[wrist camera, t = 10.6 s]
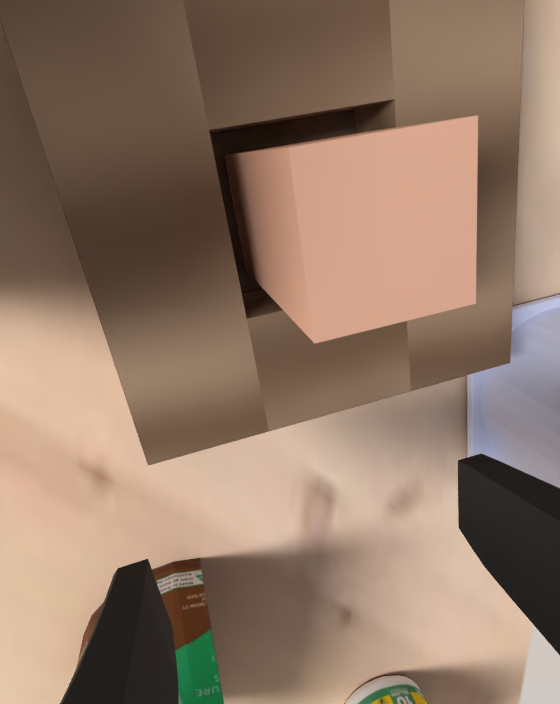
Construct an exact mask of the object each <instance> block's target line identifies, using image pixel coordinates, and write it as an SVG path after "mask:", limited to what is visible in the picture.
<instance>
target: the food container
mask: <svg viewBox="0 0 560 704" xmlns="http://www.w3.org/2000/svg"><path fill="white" fill-rule="evenodd" d="M152 572H153V574H154V577H155V580H156V583H157V585H158V588H159V591H160V594H161V596H162V599H163V602H164V604H165V607H166V610H167V613H168V615H169V618H170V621H171V624H172V627H173V635H174V644H175V652H176V662H177V671H178V693H179V704H224V701H223V695H222V689H221V683H220V677H219V671H218V665H217V659H216V653H215V647H214V641H213V635H212V629H211V623H210V617H209V611H208V605H207V599H206V593H205V587H204V581H203V575H202V569H201V563H200V558H197V559H190V560H183V561H176V562H172V563H169V564H166V565H164V566H161V567H158V568H155V569H153V570H152ZM103 604H104V602H103V603H102V604H101V606H100V607H99V608H98V609H97V610H96V611H95V612H94V614H93V615H92V616H91V619H90V621H89V623H88V626H87V628H86V631H85V633H84V636H83V641H82V645H81V650H80V655H79V659H78V664H79V662H80V659H81V657H82V655H83V653H84V650H85V648H86V646H87V643H88V641H89V639H90V636H91V634H92V631H93V629H94V626H95V624H96V621H97V619H98V617H99V614H100V611H101V609H102V606H103ZM78 664H77V666H78ZM76 669H77V668H76Z"/></svg>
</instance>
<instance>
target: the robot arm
mask: <svg viewBox="0 0 560 704" xmlns="http://www.w3.org/2000/svg"><path fill="white" fill-rule="evenodd" d="M458 510H459V529H460V530H461V532H462V533H463V535H464V537H465V538H466V540H467V541H468V543H469V544H470V546H471V547H472V549H473V550H474V552H475V553H476V555H477V556H478V558H479V559H480V561H481V562H482V564H483V565H484V566H485V568H486V569H487V570H488V571H489V573H490V574H491V575H492V576H493V577H494V579H495V580H496V581H497V582H498V583H499V585H500V586H501V587H502V588H503V589H504V590H505V592H506V593H507V594H508V595H509V596H510V598H511V599H512V600H513V601H514V602H515V603H516V605H517V606H518V607H519V608H520V609H521V610H522V612H523V613H524V614H525V615H526V616H527V617H528V619H529V620H530V621H531V622H532V623H533V624H534V626H535V627H536V628H537V629H538V630H539V631H540V632H541V634H542V635H543V636H544V637H545V638H546V640H547V641H548V642H549V643H550V644H551V645H552V647H553V648H554V649H555V650H556V651H557V652H558V654H559V655H560V294H559V295H555V296H551V297H547V298H544V299H540V300H536V301H532V302H528V303H524V304H520V305H517V306H513V307H512V333H511V359H510V363H508V364H505V365H501V366H498V367H494V368H491V369H487V370H484V371H480V372H477V373H473V374H470V375H467V458H465V459H462V460H459V461H458ZM60 704H179V693H178V671H177V662H176V652H175V644H174V635H173V627H172V624H171V621H170V618H169V615H168V613H167V610H166V607H165V604H164V602H163V599H162V596H161V594H160V591H159V588H158V585H157V583H156V580H155V577H154V574H153V572H152V569H151V566H150V564H149V561H148V559H146V560H143V561H140V562H137V563H133V564H130V565H127V566H124V567H121V568H118V569H117V571H116V572H115V574H114V576H113V579H112V582H111V585H110V587H109V590H108V593H107V596H106V598H105V601H104V604H103V606H102V609H101V611H100V614H99V617H98V619H97V621H96V624H95V626H94V629H93V631H92V634H91V636H90V639H89V641H88V643H87V646H86V648H85V650H84V653H83V655H82V657H81V659H80V662H79V664H78V666H77V669H76V671H75V673H74V676H73V678H72V680H71V682H70V684H69V687H68V689H67V691H66V693H65V695H64V697H63V699H62V701H61V703H60Z"/></svg>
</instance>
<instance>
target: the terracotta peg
mask: <svg viewBox="0 0 560 704" xmlns="http://www.w3.org/2000/svg"><path fill="white" fill-rule="evenodd" d="M225 159H226V165H227V170H228V176H229V181H230V186H231V192H232V197H233V203H234V208H235V213H236V219H237V224H238V230H239V235H240V240H241V246H242V251H243V257H244V262H245V268H246V271H247V272H248V273H249V274H250V275H251V276H252V277H253V279H254V280H255V281H256V282H257V283H258V284H259V285H260V286H261V287H262V288H263V289H264V290H265V291H266V292H267V293H268V294H269V296H270V297H271V298H272V299H273V300H274V301H275V302H276V303H277V304H278V305H279V306H280V307H281V308H282V309H283V310H284V312H285V313H286V314H287V315H288V316H289V317H290V318H291V319H292V320H293V321H294V322H295V323H296V324H297V325H298V326H299V327H300V329H301V330H302V331H303V332H304V333H305V334H306V335H307V336H308V337H309V338H310V339H311V340H312V341H313V342H314V343H319V342H323V341H327V340H331V339H335V338H339V337H343V336H347V335H351V334H355V333H360V332H364V331H368V330H372V329H376V328H380V327H384V326H388V325H392V324H396V323H400V322H404V321H408V320H412V319H416V318H420V317H424V316H428V315H432V314H436V313H440V312H444V311H448V310H452V309H456V308H460V307H464V306H468V305H472V304H476V253H477V169H478V115H476V116H470V117H463V118H456V119H449V120H443V121H436V122H429V123H422V124H416V125H409V126H402V127H395V128H389V129H382V130H375V131H368V132H362V133H355V134H348V135H341V136H335V137H329V138H323V139H317V140H311V141H305V142H299V143H293V144H288V145H282V146H276V147H270V148H264V149H258V150H252V151H246V152H240V153H234V154H228V155H225Z"/></svg>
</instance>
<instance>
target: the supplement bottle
mask: <svg viewBox="0 0 560 704" xmlns="http://www.w3.org/2000/svg"><path fill="white" fill-rule="evenodd" d="M345 704H428V703H427V702H426V700H425V698H424V696H423V694H422V692H421V690H420V688H419V687H418V686H417V684H416V683H415V682H414V681H412V680H411V679H409V678H407V677H404V676H399V675H394V676H384V677H379V678H376V679H374V680H372V681H370V682H368V683H366V684H364V685H363V686H361V687H360V688H358V689H357V690H356V691H355V692H354V693H353V694H352V695H351V696H350V697H349V698H348V699H347V701H346V702H345Z"/></svg>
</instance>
